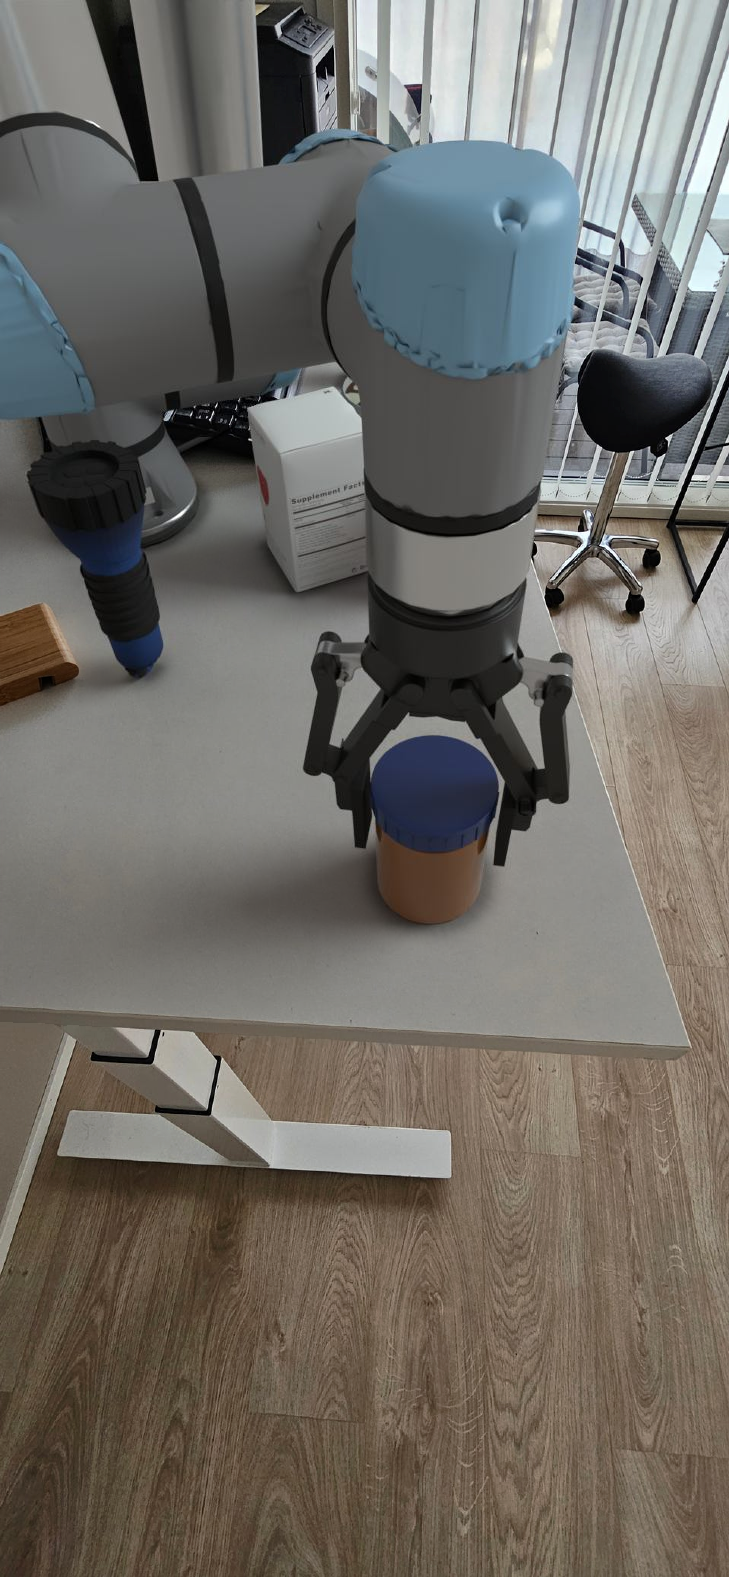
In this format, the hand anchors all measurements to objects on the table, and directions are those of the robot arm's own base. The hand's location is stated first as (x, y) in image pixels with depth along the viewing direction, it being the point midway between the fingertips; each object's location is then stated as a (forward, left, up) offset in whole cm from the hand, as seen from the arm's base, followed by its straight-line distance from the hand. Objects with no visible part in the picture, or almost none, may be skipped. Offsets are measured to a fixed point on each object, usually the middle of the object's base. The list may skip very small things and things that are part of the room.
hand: (431, 840), depth 56 cm
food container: (-54, -8, -5) cm, 55 cm away
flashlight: (-21, -26, -5) cm, 34 cm away
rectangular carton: (-38, -12, -5) cm, 40 cm away
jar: (0, 0, -5) cm, 5 cm away
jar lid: (0, 0, +6) cm, 6 cm away
